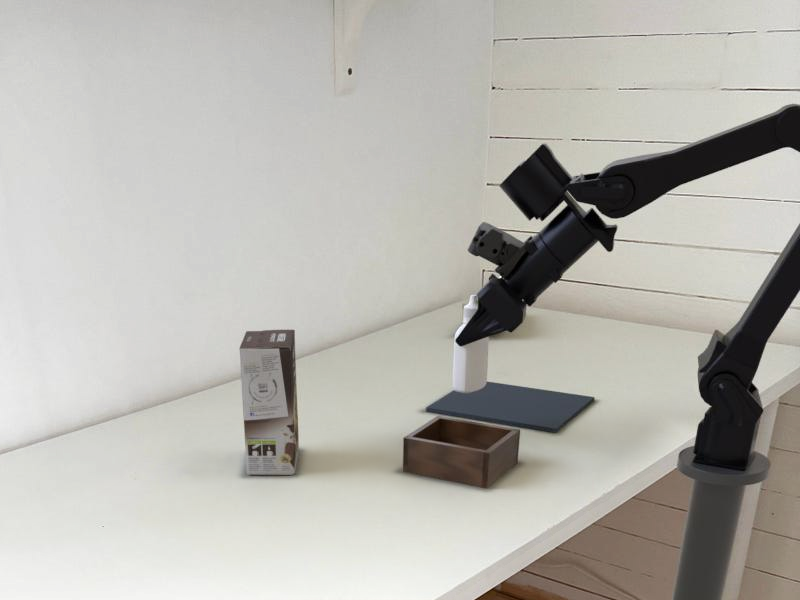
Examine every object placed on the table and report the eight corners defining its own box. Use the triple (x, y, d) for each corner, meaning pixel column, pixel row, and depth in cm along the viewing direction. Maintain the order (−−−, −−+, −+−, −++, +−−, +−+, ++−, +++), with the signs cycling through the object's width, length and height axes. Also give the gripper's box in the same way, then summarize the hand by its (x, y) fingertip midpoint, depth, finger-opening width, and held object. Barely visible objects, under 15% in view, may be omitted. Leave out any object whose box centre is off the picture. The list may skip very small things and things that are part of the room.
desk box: (517, 463, 127) (520, 429, 124) (487, 488, 120) (489, 453, 117) (436, 448, 132) (437, 415, 130) (402, 471, 125) (403, 437, 123)
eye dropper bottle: (443, 386, 133) (446, 294, 127) (480, 380, 135) (484, 289, 129) (458, 395, 130) (462, 301, 124) (496, 389, 132) (501, 296, 125)
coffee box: (296, 475, 125) (291, 346, 117) (245, 475, 125) (237, 347, 117) (300, 450, 133) (296, 327, 124) (252, 450, 133) (245, 328, 125)
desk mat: (594, 400, 148) (594, 396, 147) (555, 432, 136) (556, 428, 136) (471, 382, 157) (471, 379, 157) (425, 411, 145) (425, 407, 145)
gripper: (520, 189, 127) (433, 277, 136) (499, 210, 112) (403, 308, 120) (576, 255, 129) (487, 337, 138) (564, 284, 114) (465, 375, 122)
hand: (461, 337), depth 129 cm, fingers closed on eye dropper bottle, 5 cm apart
